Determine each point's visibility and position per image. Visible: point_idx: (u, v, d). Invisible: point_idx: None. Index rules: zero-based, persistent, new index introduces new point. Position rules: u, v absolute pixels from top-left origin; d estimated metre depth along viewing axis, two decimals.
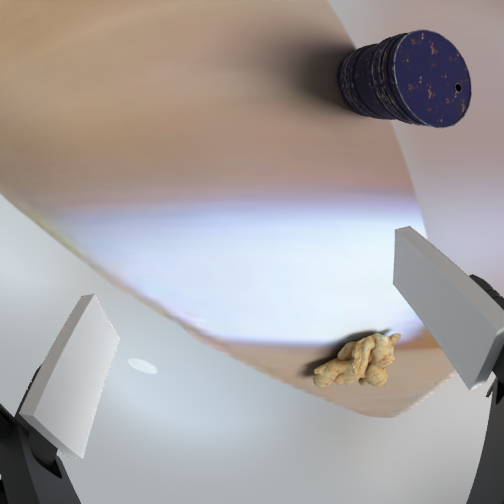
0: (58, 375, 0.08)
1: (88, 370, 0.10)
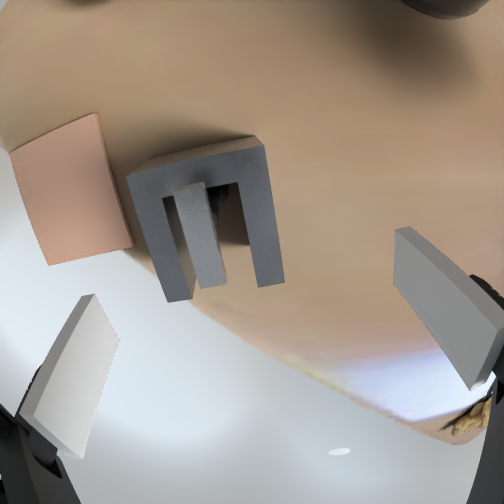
0: (58, 375, 0.08)
1: (88, 370, 0.10)
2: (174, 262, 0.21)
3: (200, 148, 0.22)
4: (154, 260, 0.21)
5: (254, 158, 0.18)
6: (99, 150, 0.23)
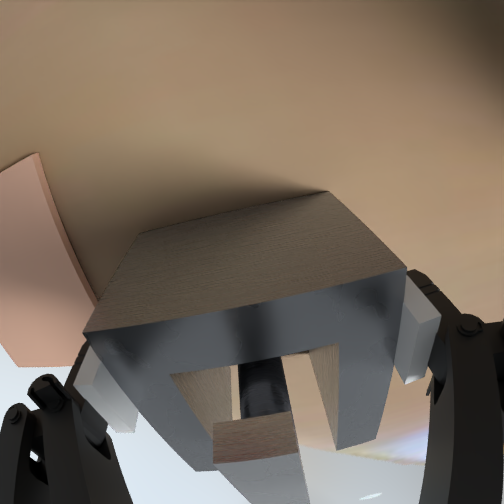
0: None
1: None
2: (204, 443, 0.10)
3: (233, 225, 0.12)
4: (168, 441, 0.10)
5: (382, 296, 0.07)
6: (48, 222, 0.12)
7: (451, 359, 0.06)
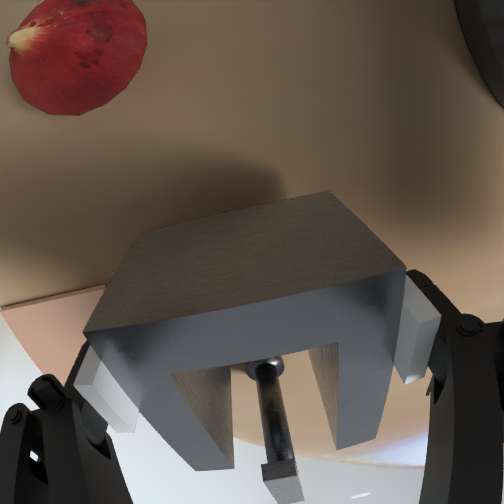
0: None
1: None
2: (204, 443, 0.10)
3: (233, 225, 0.12)
4: (168, 440, 0.10)
5: (382, 295, 0.07)
6: None
7: (451, 359, 0.06)
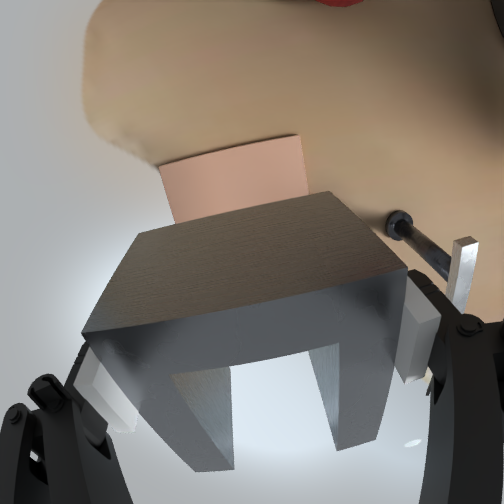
0: None
1: None
2: (203, 444, 0.10)
3: (232, 225, 0.12)
4: (168, 441, 0.10)
5: (383, 296, 0.07)
6: (301, 178, 0.23)
7: (451, 359, 0.06)
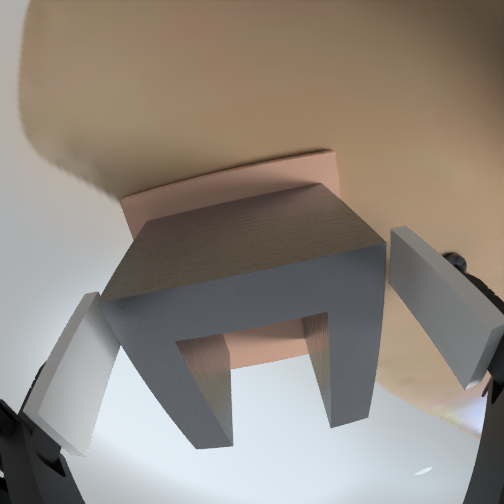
0: (62, 372, 0.08)
1: (92, 368, 0.10)
2: (204, 416, 0.12)
3: (233, 212, 0.13)
4: (171, 414, 0.11)
5: (365, 268, 0.09)
6: None
7: None
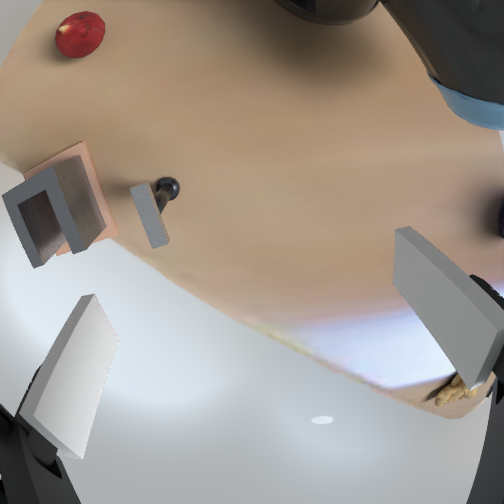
0: (58, 375, 0.08)
1: (88, 370, 0.10)
2: (30, 241, 0.28)
3: None
4: (21, 242, 0.28)
5: (50, 174, 0.25)
6: (88, 167, 0.32)
7: None
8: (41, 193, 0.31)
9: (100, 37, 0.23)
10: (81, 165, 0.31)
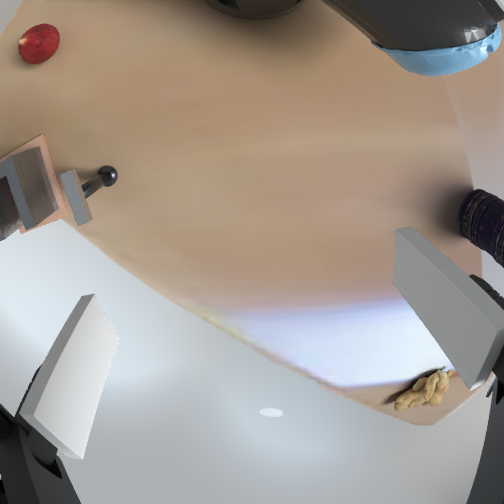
0: (58, 375, 0.08)
1: (88, 370, 0.10)
2: None
3: None
4: None
5: (9, 162, 0.27)
6: (45, 157, 0.34)
7: None
8: None
9: (53, 46, 0.24)
10: (39, 155, 0.33)
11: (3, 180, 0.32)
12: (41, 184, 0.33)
